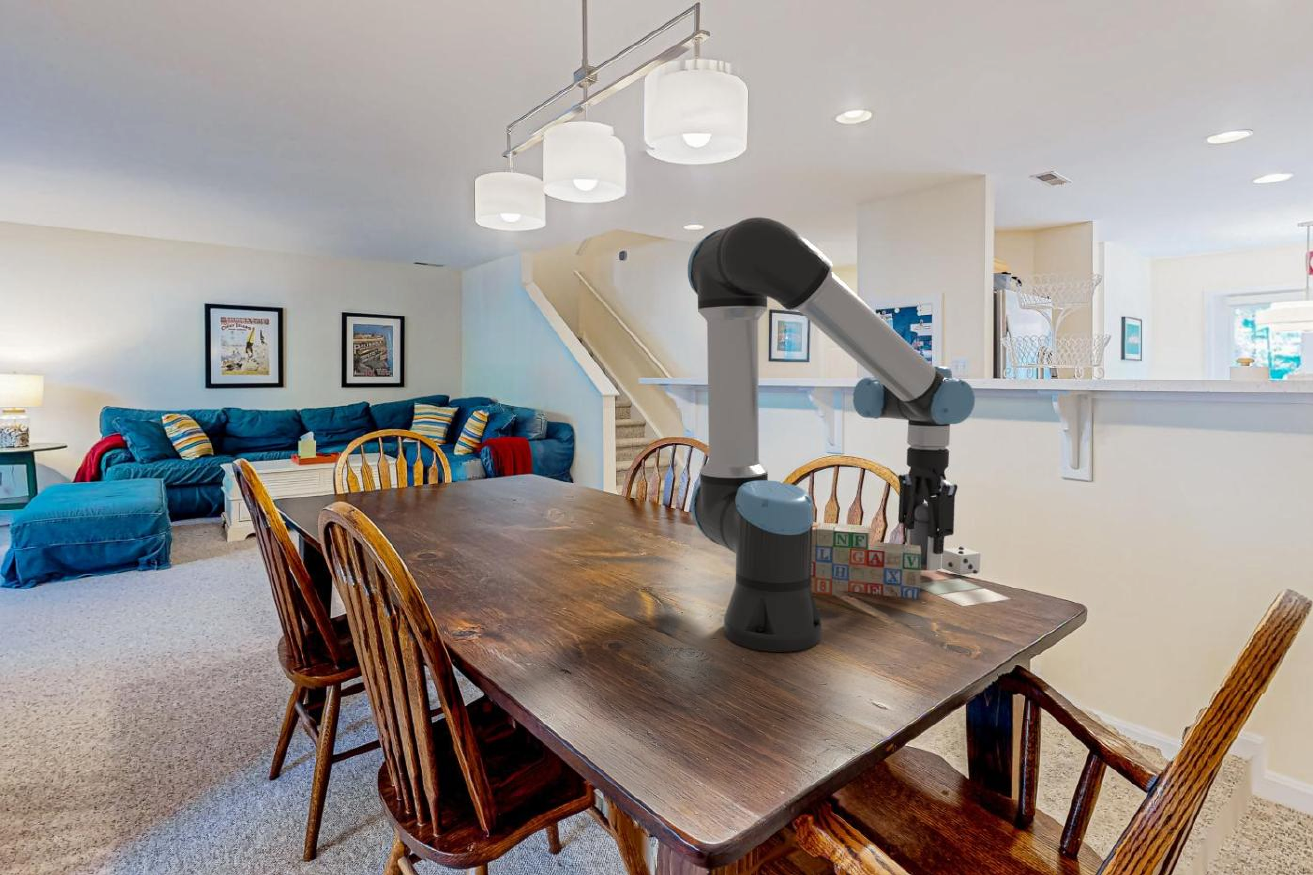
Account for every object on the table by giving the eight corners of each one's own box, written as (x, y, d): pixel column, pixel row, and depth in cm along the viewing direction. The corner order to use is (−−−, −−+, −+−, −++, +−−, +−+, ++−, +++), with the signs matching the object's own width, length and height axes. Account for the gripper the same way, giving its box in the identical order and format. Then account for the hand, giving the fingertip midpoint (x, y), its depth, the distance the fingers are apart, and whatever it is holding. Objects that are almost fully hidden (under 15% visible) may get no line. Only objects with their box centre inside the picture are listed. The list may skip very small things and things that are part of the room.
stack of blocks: (919, 594, 129) (922, 529, 128) (919, 605, 124) (922, 537, 122) (802, 581, 137) (804, 520, 136) (797, 591, 131) (799, 527, 130)
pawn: (921, 571, 133) (924, 507, 132) (903, 564, 138) (905, 501, 137) (943, 568, 135) (946, 505, 134) (924, 561, 140) (927, 500, 138)
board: (961, 612, 120) (961, 606, 119) (865, 570, 144) (866, 565, 144) (1014, 604, 124) (1014, 598, 124) (913, 564, 148) (913, 560, 148)
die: (959, 581, 137) (960, 553, 136) (939, 573, 142) (940, 547, 142) (981, 578, 139) (982, 551, 138) (960, 570, 144) (961, 544, 144)
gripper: (980, 451, 127) (973, 576, 129) (911, 441, 144) (907, 551, 146) (947, 453, 124) (941, 580, 127) (881, 442, 141) (877, 555, 144)
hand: (923, 565), depth 136 cm, fingers closed on pawn, 5 cm apart
